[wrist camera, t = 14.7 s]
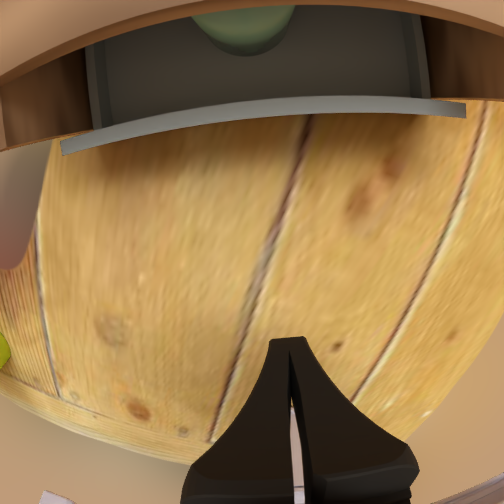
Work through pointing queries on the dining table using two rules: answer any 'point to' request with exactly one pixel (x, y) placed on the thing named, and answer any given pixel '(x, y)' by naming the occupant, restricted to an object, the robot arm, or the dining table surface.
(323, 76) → the drawer tray
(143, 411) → the dining table surface
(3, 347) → the soap dispenser
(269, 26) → the sea green cylinder
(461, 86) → the wooden drawer box
